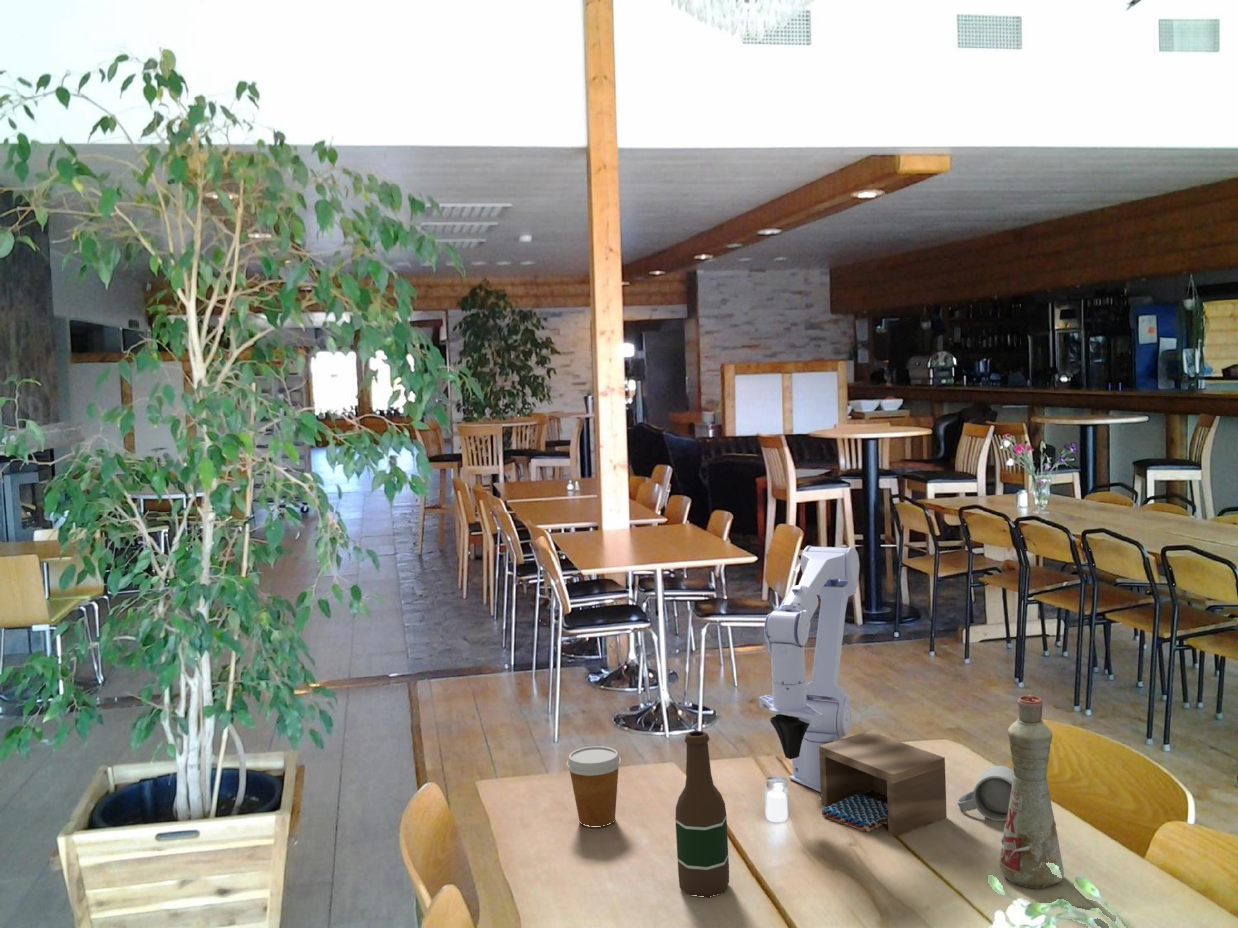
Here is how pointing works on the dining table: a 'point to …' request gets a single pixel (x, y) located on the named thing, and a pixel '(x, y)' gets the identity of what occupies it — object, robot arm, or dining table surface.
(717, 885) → the beer bottle
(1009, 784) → the ceramic mug
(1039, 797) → the bottle
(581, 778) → the disposable coffee cup
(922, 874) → the dining table surface
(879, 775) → the walnut open box
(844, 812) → the woven mat
